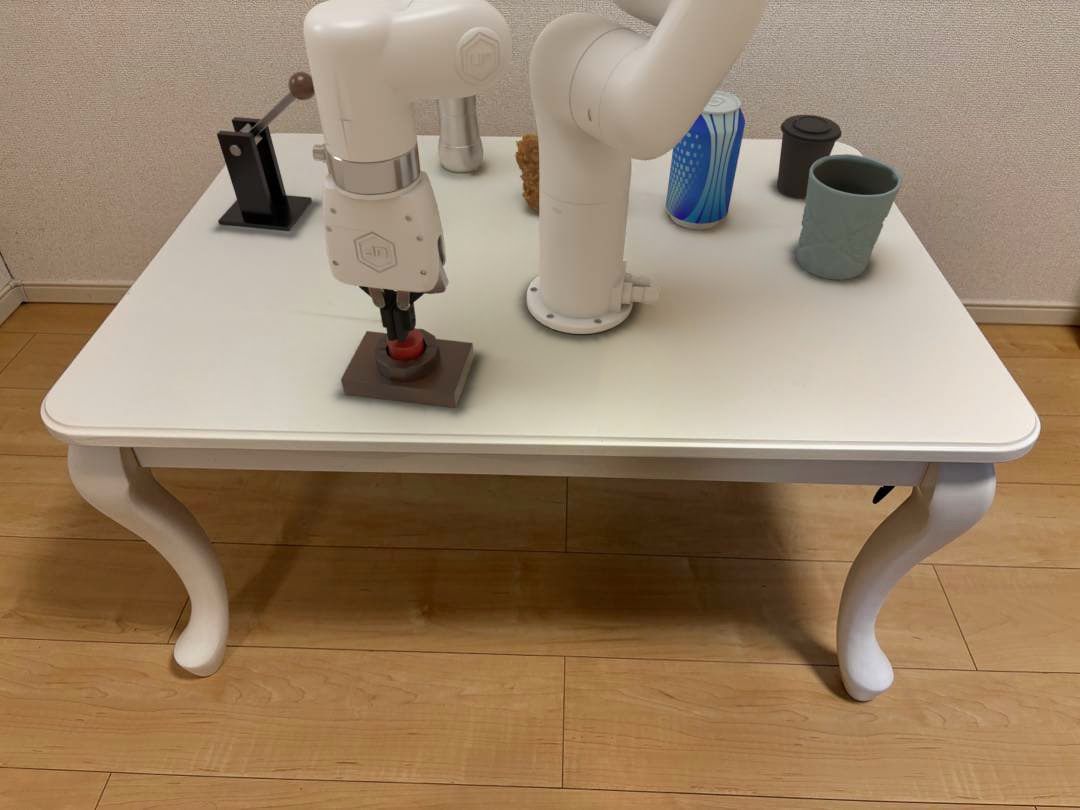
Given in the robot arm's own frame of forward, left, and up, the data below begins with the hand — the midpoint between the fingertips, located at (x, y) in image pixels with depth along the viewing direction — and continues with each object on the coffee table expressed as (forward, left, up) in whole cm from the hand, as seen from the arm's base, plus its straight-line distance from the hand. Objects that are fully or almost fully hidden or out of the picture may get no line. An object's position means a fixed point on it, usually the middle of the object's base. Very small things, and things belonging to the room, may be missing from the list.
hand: (400, 332), depth 77 cm
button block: (0, 0, -6) cm, 6 cm away
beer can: (-29, -38, -6) cm, 49 cm away
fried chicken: (-11, -38, -6) cm, 40 cm away
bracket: (+29, -28, -6) cm, 41 cm away
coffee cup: (-43, -48, -6) cm, 65 cm away
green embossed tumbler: (-46, -30, -6) cm, 56 cm away
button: (0, 0, -3) cm, 3 cm away
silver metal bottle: (+6, -46, -6) cm, 47 cm away
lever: (+23, -28, +7) cm, 37 cm away
